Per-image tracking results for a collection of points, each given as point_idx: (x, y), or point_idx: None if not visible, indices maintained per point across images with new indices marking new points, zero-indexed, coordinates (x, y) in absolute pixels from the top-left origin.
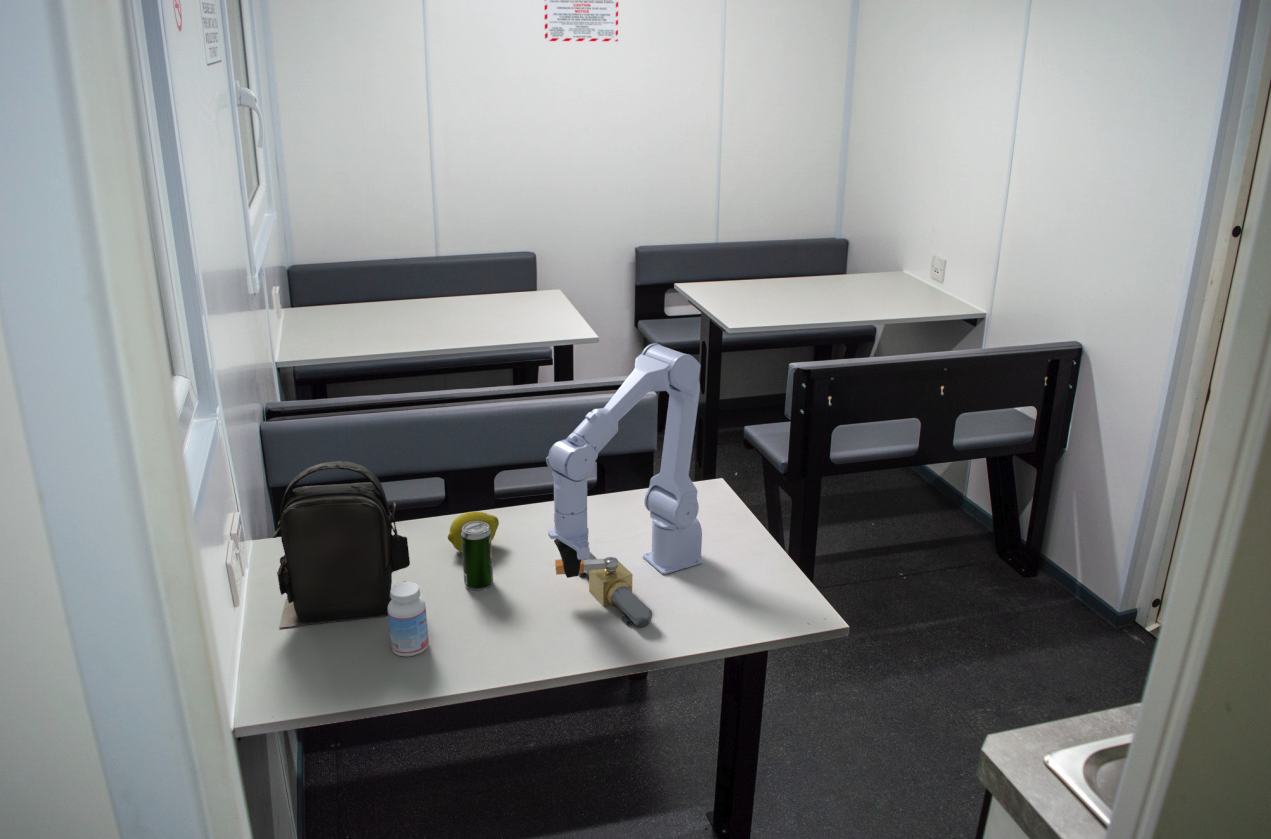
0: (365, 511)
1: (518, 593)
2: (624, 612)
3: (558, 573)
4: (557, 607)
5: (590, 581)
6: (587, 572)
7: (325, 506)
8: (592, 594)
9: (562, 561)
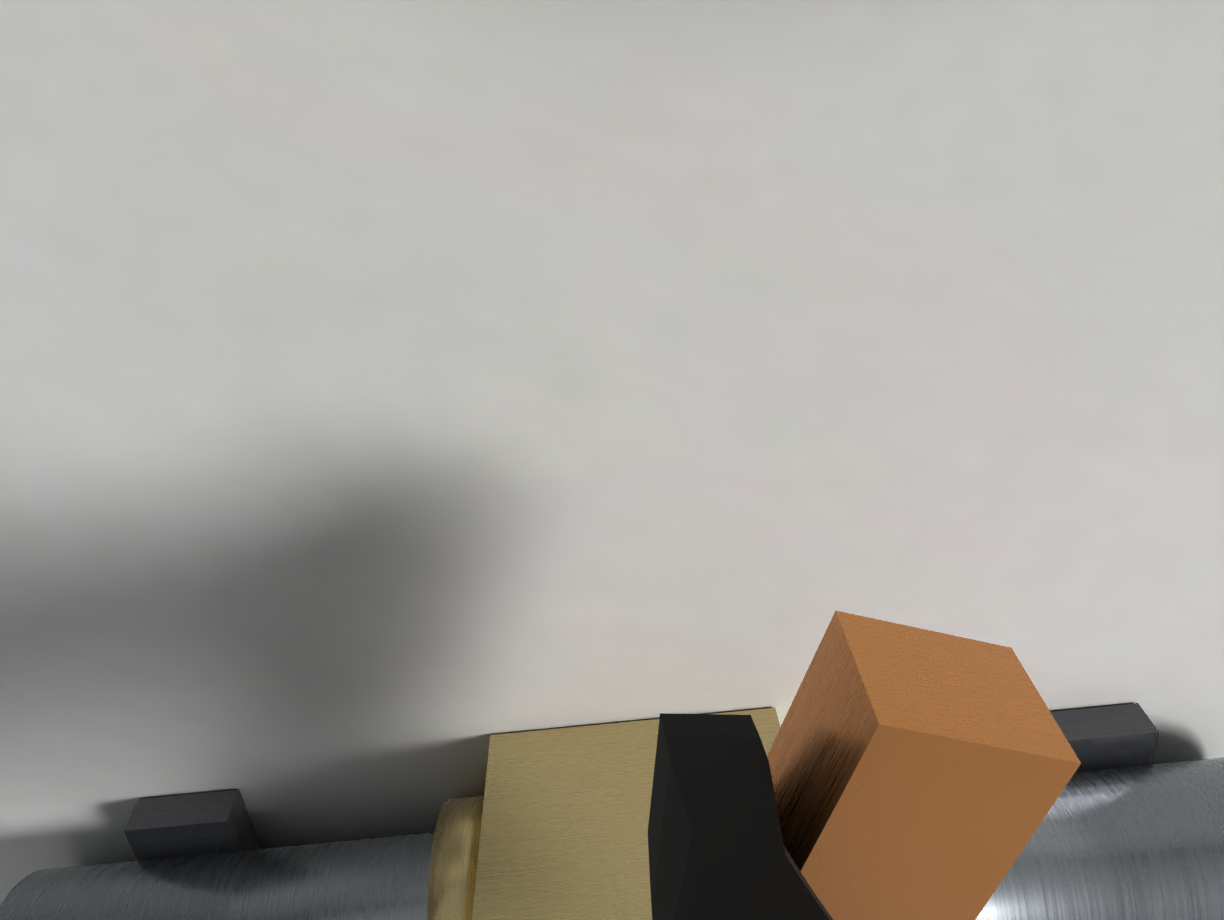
0: None
1: (1177, 27)
2: (205, 869)
3: (824, 650)
4: (651, 369)
5: None
6: None
7: None
8: None
9: (798, 897)
